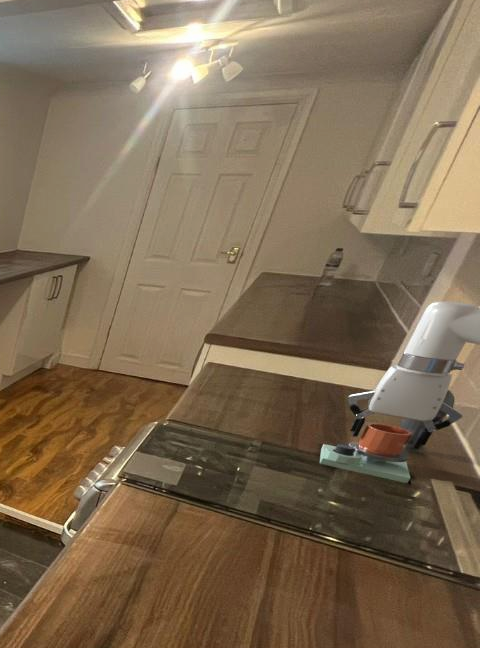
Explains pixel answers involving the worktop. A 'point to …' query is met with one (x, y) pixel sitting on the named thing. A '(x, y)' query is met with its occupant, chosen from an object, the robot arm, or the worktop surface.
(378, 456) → the scale pan
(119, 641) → the worktop surface
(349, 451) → the tare button
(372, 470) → the scale
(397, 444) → the bowl
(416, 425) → the beverage cup
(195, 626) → the worktop surface
